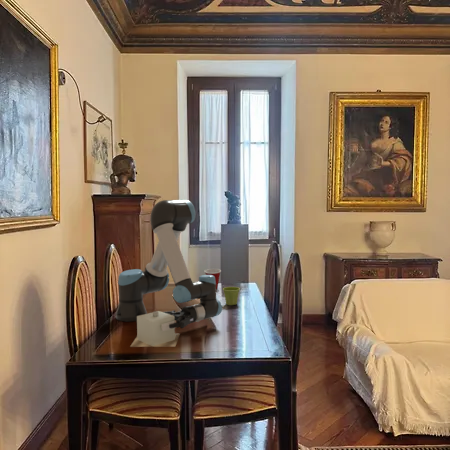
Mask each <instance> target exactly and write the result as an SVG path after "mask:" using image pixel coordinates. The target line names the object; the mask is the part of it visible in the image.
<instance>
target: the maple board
mask: <svg viewBox="0 0 450 450" xmlns="http://www.w3.org/2000/svg"><path fill="white" fill-rule="evenodd" d="M180 335H181V333H176V332H175V340H172V341H169V342H166V343H162V344H159V345H156V346H151V345H148V344H146V343H144V342H141V341H139V340H137V336H136V337H135V338H134V340H133V342H132V343H131V345H130V346H129V347H130V348H140V347H142V348H144V347H145V348H146V347H147V348H153V347H154V348H159V347H160V348H162V347H163V348H164V347H167V348H168V347H172V348H173V347H174V348H175V347H176V345H177V344H178V340H179V338H180Z"/></svg>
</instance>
